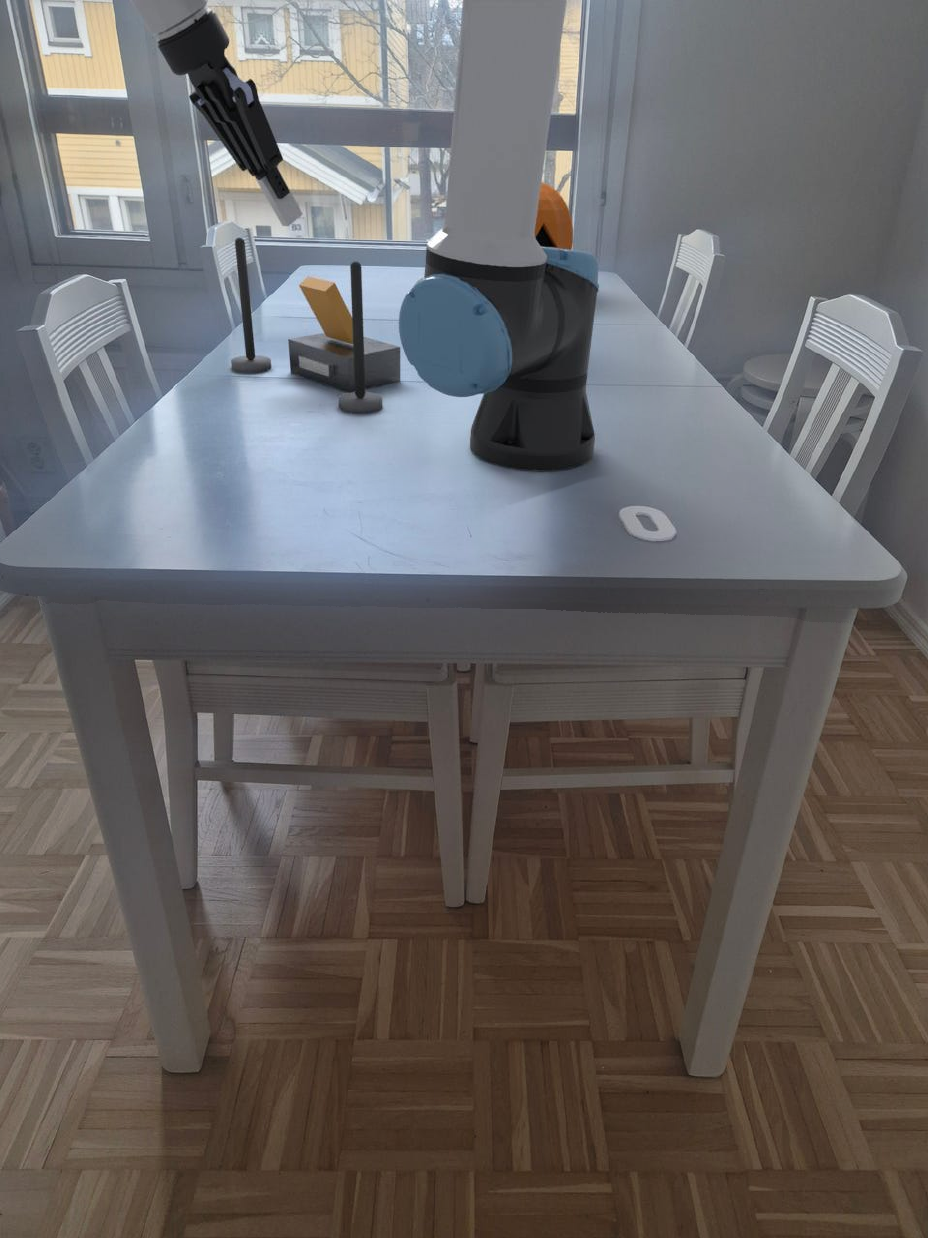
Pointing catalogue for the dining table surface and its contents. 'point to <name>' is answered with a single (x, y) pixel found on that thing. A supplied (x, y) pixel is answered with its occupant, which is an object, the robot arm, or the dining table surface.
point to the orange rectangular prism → (328, 308)
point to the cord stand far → (247, 320)
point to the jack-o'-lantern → (553, 220)
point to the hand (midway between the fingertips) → (292, 219)
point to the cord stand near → (358, 354)
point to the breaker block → (343, 361)
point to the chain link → (636, 527)
